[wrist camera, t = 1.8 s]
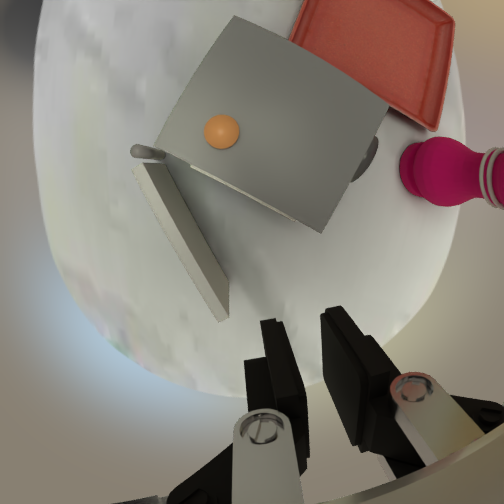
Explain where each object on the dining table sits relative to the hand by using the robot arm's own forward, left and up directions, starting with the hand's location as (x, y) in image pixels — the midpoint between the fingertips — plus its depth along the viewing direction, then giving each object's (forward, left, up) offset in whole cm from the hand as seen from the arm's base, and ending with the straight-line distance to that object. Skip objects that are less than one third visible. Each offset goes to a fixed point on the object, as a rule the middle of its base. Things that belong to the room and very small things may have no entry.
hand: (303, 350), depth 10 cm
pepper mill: (-15, +13, -21) cm, 29 cm away
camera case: (-9, -4, -21) cm, 23 cm away
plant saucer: (-26, +1, -22) cm, 34 cm away
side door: (+2, -6, -21) cm, 22 cm away
